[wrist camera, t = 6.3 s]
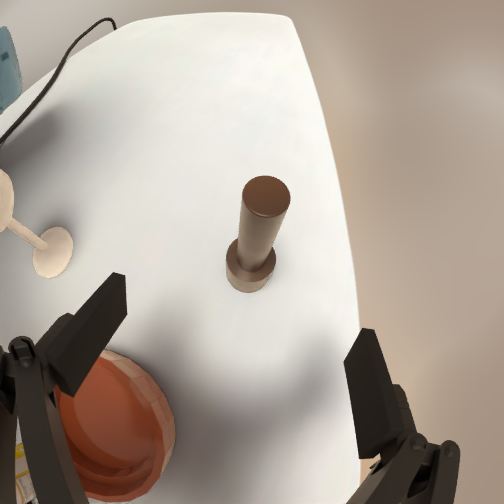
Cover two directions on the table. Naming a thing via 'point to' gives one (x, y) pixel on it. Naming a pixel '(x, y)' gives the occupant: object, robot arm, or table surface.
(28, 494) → the supplement bottle
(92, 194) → the table surface
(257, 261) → the pestle
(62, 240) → the champagne flute
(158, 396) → the bowl
